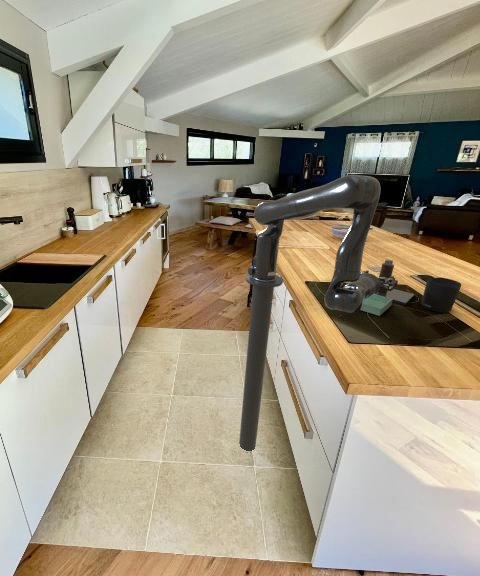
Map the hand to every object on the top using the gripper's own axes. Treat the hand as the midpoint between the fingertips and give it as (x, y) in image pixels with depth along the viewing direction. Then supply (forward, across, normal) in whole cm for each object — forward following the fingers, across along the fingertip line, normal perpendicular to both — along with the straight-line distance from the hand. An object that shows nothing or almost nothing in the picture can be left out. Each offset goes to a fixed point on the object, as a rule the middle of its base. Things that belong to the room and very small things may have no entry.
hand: (379, 275), depth 116 cm
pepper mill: (+7, 0, +8) cm, 11 cm away
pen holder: (+7, -18, +9) cm, 22 cm away
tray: (-9, +1, +9) cm, 13 cm away
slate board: (+7, 0, +9) cm, 11 cm away
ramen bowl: (+93, +48, +9) cm, 105 cm away
